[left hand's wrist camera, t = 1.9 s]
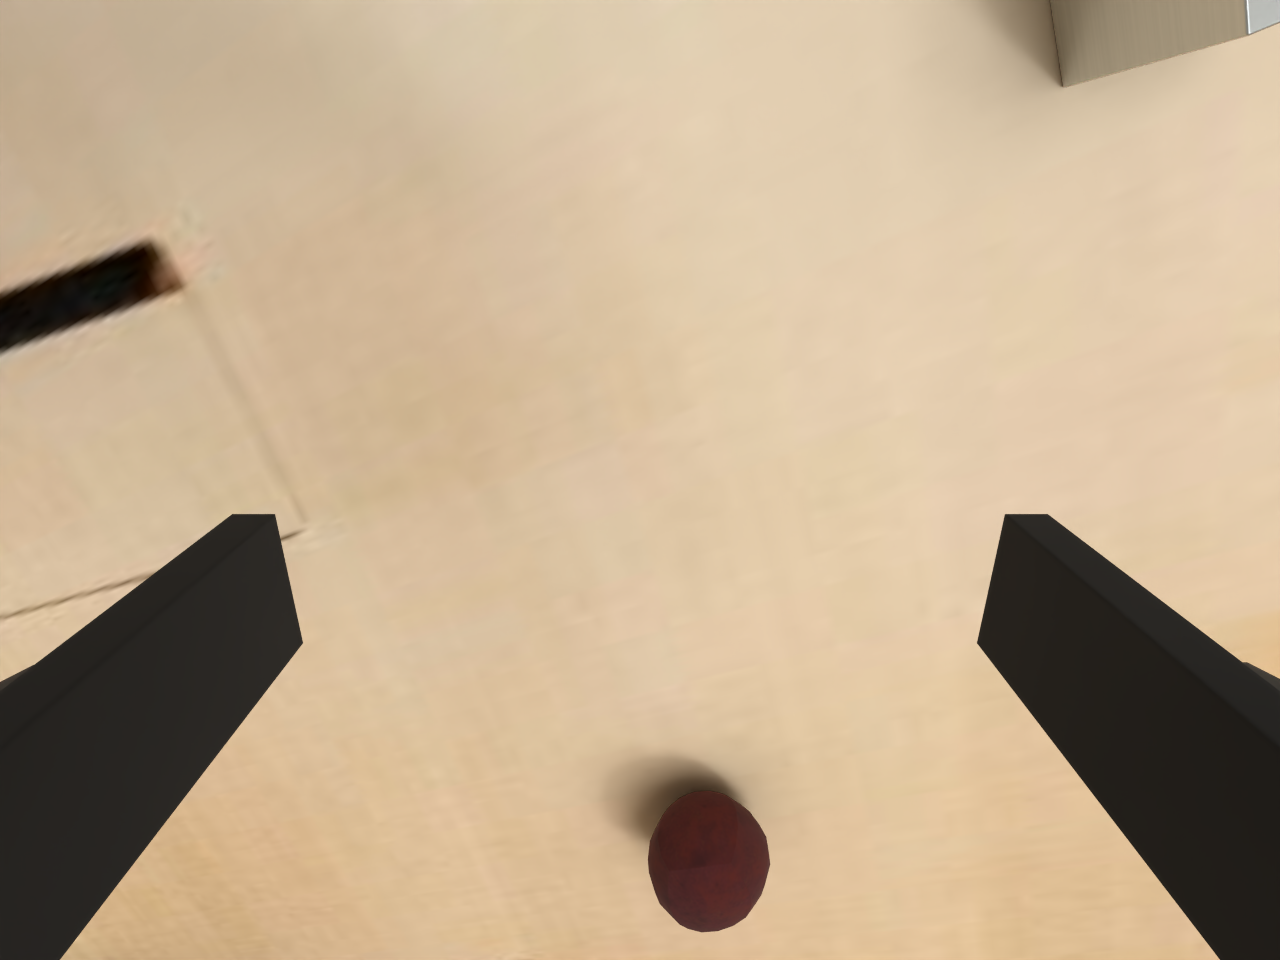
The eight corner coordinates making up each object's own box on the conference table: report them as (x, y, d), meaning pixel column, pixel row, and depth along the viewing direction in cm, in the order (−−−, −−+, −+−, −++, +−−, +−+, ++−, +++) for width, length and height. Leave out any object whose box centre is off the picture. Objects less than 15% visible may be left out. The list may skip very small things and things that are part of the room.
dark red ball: (662, 862, 47) (666, 969, 40) (634, 777, 44) (633, 876, 37) (769, 842, 46) (790, 948, 40) (747, 755, 43) (766, 852, 37)
